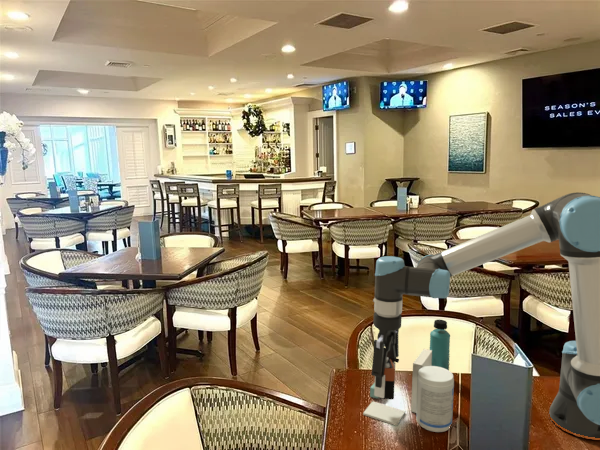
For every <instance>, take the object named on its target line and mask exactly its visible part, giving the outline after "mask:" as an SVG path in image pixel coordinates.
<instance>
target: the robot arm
mask: <svg viewBox="0 0 600 450" xmlns="http://www.w3.org/2000/svg"><path fill="white" fill-rule="evenodd" d="M555 241H558V244H559V254H560V256H561V257H563V258H564V259H565V260H566V261H567V262H568V271H569V282H570V283H569V284H570V292H571V302H572V312H573V313H572V314H573V322H574V332H575V334H574V335H575V340H569V341H566V342H565V343H564V345H563V349H562V351H561V353H562V355H561V356H562V357H561V368H560V376H559V386H558V387H559V388H558V391H557V393H556V396H555V397H554V399H553V401H552V403H551V405H550V406H549V413H548V415H549V414H550V417H551V418H552V419H553V420H554V421H555V422H556V423H557V424H558V425H560V426H561V427H563V428H565V429H567V430H569V431H571V432H573V433H576V434H580V435H584V436H588V437H595V438H600V196H597V195H593V194H589V193H585V192H571V193H567V194H564V195H562V196H559V197H557V198H556V199H553V200H551V201H550V202H547V203H545V204H543V205H540V206H539V207H536V208H534V209H532V210H531V212H530V214H529V215H526V216H525V217H521V218H519V219H517V220H514V221H513V222H509V223H507V224H505V225H503V226H501V227H498V228H496V229H493V230H491V231H488V232H485V233H483V234H481V235H478V236H477V237H476V236H475V237H474V238H471V239H469V240H466V241H464V242H460V243H459V244H457V245H455V246H452V247H449V248H447V249H445V250H442V251H440V252H438V253H436V254H427V255H425V256H423V257H422V258H420V260H419V261H418V263H417V266H415V267H414V266H408V265H407V266H406V265H405V260H404V259H403V258H402V257H398V256H394V255H393V256H392V255H390V256H389V255H388V256H387V255H386V256H381V257H379V258H378V259H377V260H376V262H375V273H374V298H373V299H372V302H373V303H374V305H373V307H374V309H373V311H374V312H373V327H374V328H377V329H378V330H379V331H378V333H377V337H376V338H377V339H374V340H373V354H372V365H371V372H370V373H371V376H374V383H375V387H374V396H377V397H380V398H384V396H385V375H384V371H385V365H386V359H387V357H388V358H389V359H391V360H392V363H393V365H394V368H395V369H396V363H399V362H400V359H399V358H398V357H399V353H400V352H399V330H400V329H401V327H402V318H403V317H402V313H403V295H407V296H416V297H423V298H424V297H426V298H432V299H447V298H448V297H449V295H450V283H451V278H452V277H453V276H456V275H458V274H461V273H463V272H466V271H468V270H471V269H472V270H473V269H475V268H476V267H479V266H481V265H484V264H487V263H490V262H493V261H495V260H498V259H500V258H503V257H505V256H508V255H511V254H513V253H515V252H518V251H521V250H523V249H526V248H528V247H530V246H531V247H532V246H534V245H536V244H539V243H542V242H547V243H549V244H550V243H553V242H555ZM394 385H396V382H395V383H394Z"/></svg>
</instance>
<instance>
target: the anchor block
mask: <svg viewBox="0 0 600 450" xmlns="http://www.w3.org/2000/svg"><path fill="white" fill-rule="evenodd" d="M374 387H375V382H373V384H372V385H371V386H370V387H369V389H370V390H369V391H370V392H369V397H370V398H374V399H376V400H378V399H379V398H378V397H377V396H374Z"/></svg>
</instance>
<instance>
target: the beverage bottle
mask: <svg viewBox="0 0 600 450" xmlns="http://www.w3.org/2000/svg"><path fill="white" fill-rule="evenodd" d="M433 328H434V329H433V330H431V331H430V333H429V336H430V337H429V350H432V365H431V366H437V367H442V368H445V369H447V370H449V371H450V355H451V354H450V347H451V340H450V339H451V334H450V332H448V331H447V329H448V322H447V320H444V319H435V320H434V322H433Z"/></svg>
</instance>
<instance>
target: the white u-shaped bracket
mask: <svg viewBox="0 0 600 450" xmlns="http://www.w3.org/2000/svg"><path fill="white" fill-rule="evenodd" d="M431 365H432V350H430V349H429V348H428V349H426V348H423V350H421V352H420V353H419V355H418V356H417V357H416V359H415V360H414V361H413V363H412V374H411V375H412V378H411V398H410V399H411V400H410V401H411V402H410V412H412V413H415V414H416V409H417V378H418V371H419V369H421V368H422V367H426V366H431Z"/></svg>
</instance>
